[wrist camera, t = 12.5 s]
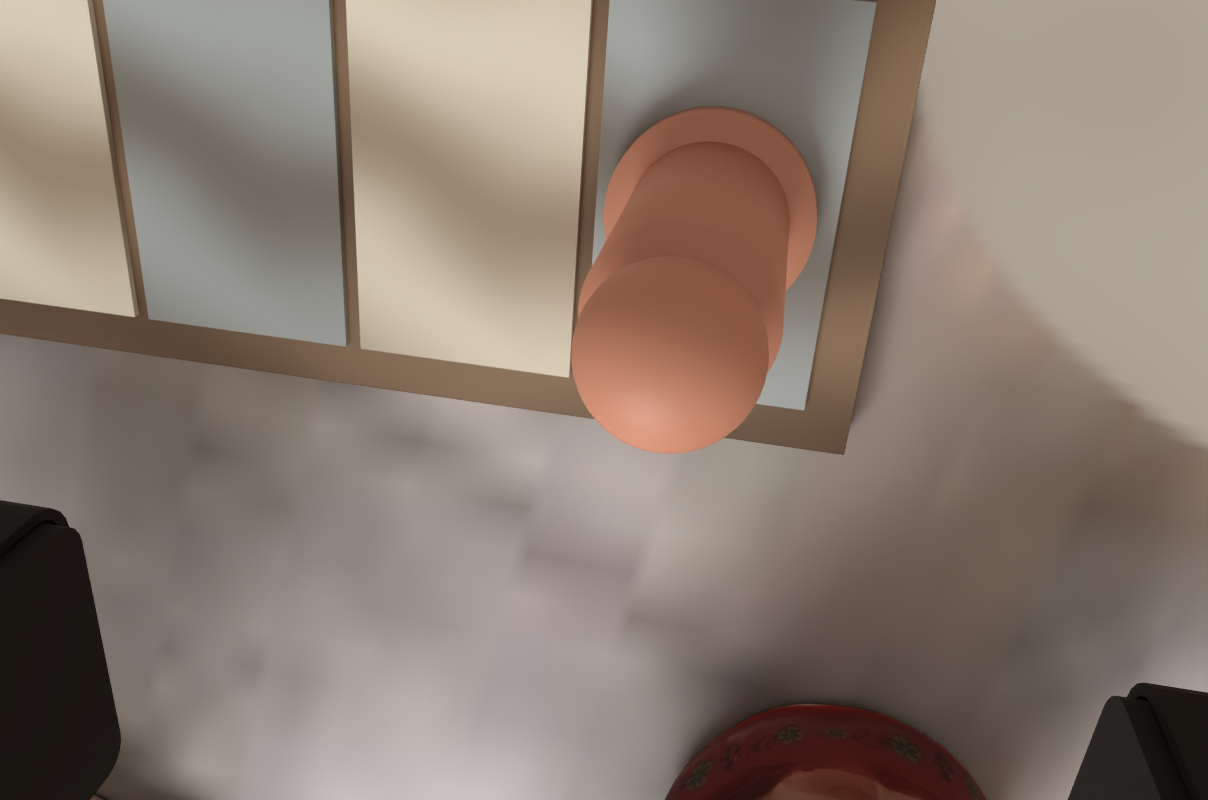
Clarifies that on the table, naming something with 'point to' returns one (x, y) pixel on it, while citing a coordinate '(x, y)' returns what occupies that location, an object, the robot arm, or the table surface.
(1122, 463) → the table surface
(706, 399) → the pawn
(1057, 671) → the table surface
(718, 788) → the decorative planter
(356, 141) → the board
